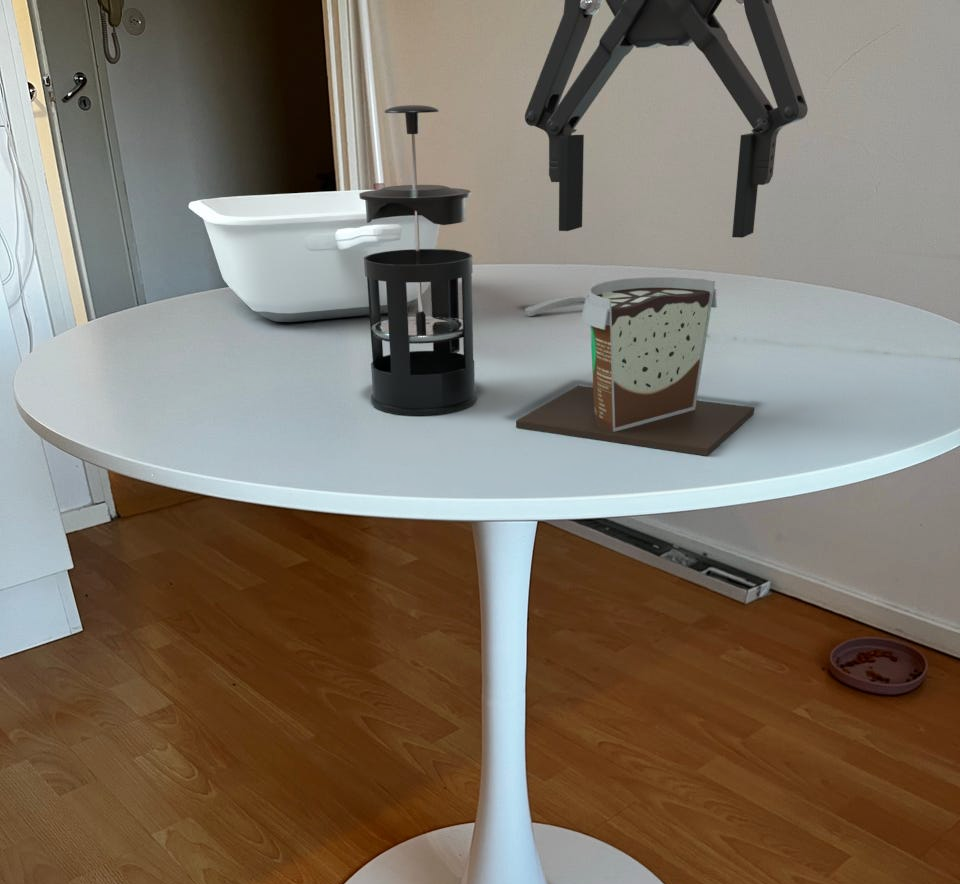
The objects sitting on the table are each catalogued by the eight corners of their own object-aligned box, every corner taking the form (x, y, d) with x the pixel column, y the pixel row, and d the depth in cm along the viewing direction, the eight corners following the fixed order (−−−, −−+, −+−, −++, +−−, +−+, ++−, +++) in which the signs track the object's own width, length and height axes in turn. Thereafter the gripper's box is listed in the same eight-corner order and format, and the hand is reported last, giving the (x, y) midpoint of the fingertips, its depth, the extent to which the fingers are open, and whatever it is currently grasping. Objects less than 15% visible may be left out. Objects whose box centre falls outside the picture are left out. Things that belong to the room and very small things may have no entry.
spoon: (620, 307, 123) (620, 290, 122) (532, 324, 119) (531, 307, 118) (608, 303, 125) (607, 286, 124) (521, 319, 122) (520, 302, 121)
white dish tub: (400, 282, 143) (395, 184, 136) (524, 345, 106) (525, 216, 100) (196, 298, 134) (181, 195, 128) (256, 374, 97) (238, 234, 91)
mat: (753, 414, 83) (754, 407, 83) (707, 456, 74) (708, 448, 74) (577, 391, 90) (577, 385, 90) (515, 427, 81) (515, 420, 81)
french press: (449, 422, 83) (439, 106, 72) (348, 412, 86) (323, 107, 75) (499, 386, 92) (497, 102, 81) (406, 378, 95) (392, 104, 84)
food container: (653, 391, 88) (661, 270, 83) (707, 406, 83) (719, 280, 79) (546, 418, 81) (548, 289, 76) (599, 435, 77) (604, 300, 72)
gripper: (474, -105, 68) (483, 232, 78) (859, -156, 57) (810, 245, 67) (525, -92, 73) (527, 221, 84) (883, -135, 62) (835, 231, 73)
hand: (653, 232), depth 75 cm, fingers open, 13 cm apart
